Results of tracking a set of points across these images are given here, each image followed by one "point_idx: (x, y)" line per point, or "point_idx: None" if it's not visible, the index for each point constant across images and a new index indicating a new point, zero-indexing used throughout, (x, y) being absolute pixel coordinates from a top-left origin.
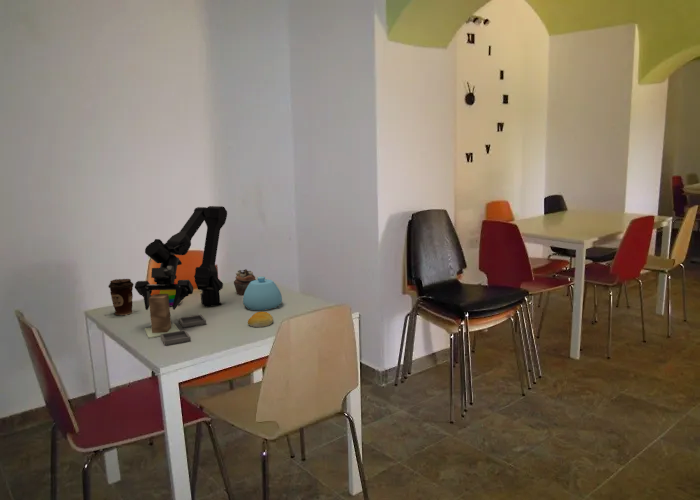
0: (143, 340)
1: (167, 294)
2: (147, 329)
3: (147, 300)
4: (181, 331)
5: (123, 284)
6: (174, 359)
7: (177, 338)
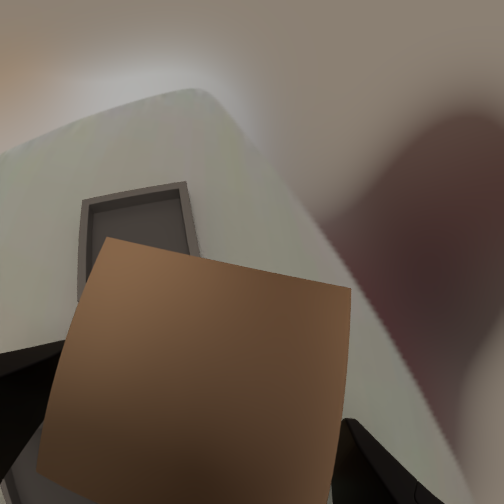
0: None
1: (42, 434)
2: None
3: (373, 487)
4: None
5: None
6: (167, 106)
7: None
